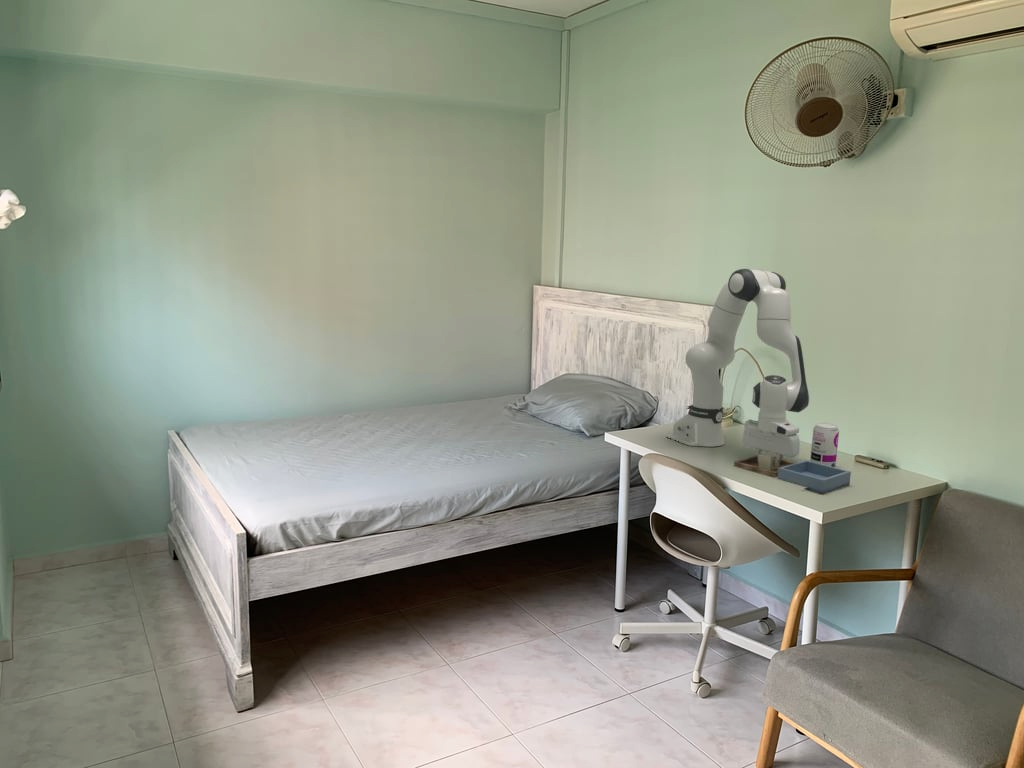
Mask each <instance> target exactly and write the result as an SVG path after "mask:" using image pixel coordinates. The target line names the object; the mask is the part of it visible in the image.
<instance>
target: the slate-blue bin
mask: <svg viewBox="0 0 1024 768" xmlns="http://www.w3.org/2000/svg"><path fill="white" fill-rule="evenodd" d="M793 463H794V464H791V465H787V466H784V467H780V468H778V477H776V478H777V479H778V480H781V481H785V482H789V483H793V484H794V485H798V486H803V487H805V488H803V489H804V490H806V491H810V492H812V491H813V493H817V494H820V495H824V493H825V494H827V492H828V493H831V492H834V491H836V489H837V490H840V489H842V488H841V487H843V488H845V486H846V487H848V486H850V484H851V476H852V475H851V474H852V471H849V470H846V469H842V468H838V467H831V466H827V465H823V464H819V463H815V462H812V461H810V460H807V459H804V460H801V461H798V462H793ZM847 485H848V486H847ZM839 488H840V489H839ZM833 490H834V491H833Z"/></svg>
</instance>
